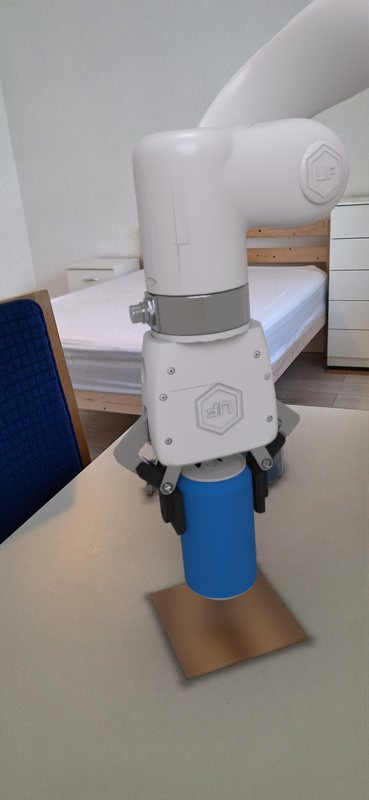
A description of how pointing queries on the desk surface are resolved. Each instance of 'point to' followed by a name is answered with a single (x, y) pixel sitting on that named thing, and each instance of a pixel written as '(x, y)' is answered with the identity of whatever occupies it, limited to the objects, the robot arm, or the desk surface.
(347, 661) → the desk surface
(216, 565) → the beverage can
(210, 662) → the coaster
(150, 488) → the wooden post with brackets
